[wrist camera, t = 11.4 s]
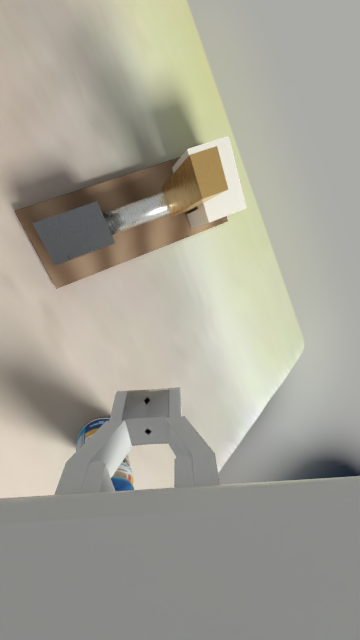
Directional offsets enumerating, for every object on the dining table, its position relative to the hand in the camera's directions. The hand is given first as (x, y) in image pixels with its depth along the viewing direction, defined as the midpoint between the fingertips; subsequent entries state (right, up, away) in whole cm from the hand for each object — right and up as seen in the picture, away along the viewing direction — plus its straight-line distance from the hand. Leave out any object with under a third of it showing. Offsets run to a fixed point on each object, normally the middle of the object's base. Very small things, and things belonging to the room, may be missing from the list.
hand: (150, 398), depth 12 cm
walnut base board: (-6, +19, +26) cm, 33 cm away
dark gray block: (-13, +16, +24) cm, 31 cm away
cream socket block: (+4, +24, +28) cm, 37 cm away
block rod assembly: (-2, +20, +25) cm, 33 cm away
